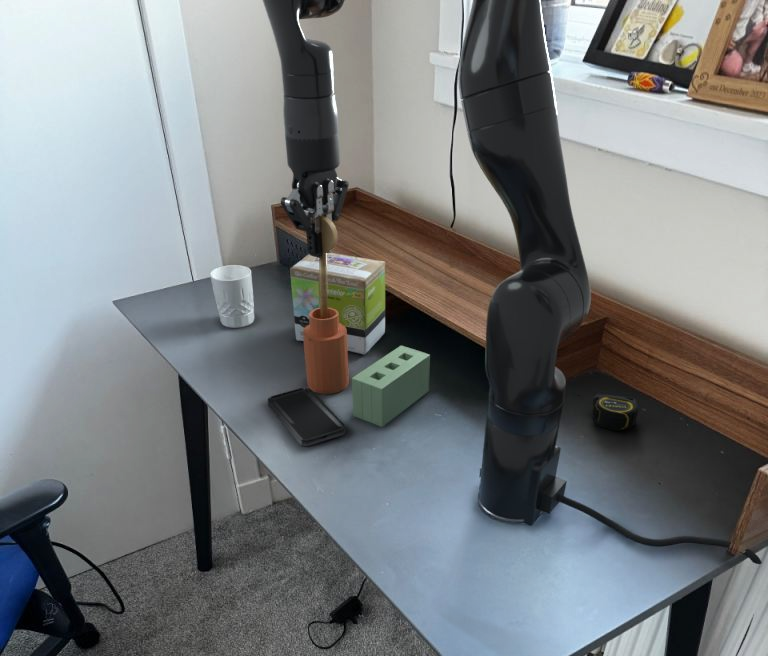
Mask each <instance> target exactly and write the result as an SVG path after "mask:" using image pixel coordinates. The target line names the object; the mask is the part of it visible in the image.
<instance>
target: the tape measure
mask: <svg viewBox="0 0 768 656" xmlns="http://www.w3.org/2000/svg"><path fill="white" fill-rule="evenodd" d="M592 412H593V413H592V417H593V420H594V421H595V423H596V424H597V425H599V426H601V427H603V428H605V429H609V430H614V431H615V430H617V431H618V430H619V431H620V430H621V431H622V430H623V431H624V430H627V429H630V428H632V427H633V426H634V425H635V423H636V421H637V419H638V414H639V406H638V402H637V400H636V399H635V398H633V397H628V396H621V395H620V396H619V395H608V394H600V393H599V394H597V393H596V394H595V395H594V396H593V399H592Z"/></svg>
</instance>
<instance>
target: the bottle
mask: <svg viewBox="0 0 768 656" xmlns="http://www.w3.org/2000/svg"><path fill="white" fill-rule="evenodd" d="M309 323H310V325H308V326H306V327H305V328H304V329H303V339H304V341H303V351H304V360H305V362H304V363H305V371H306V372H305V373H306V374H305V375H306V383H307V388H310V389H311V390H312V391H313V392H314V393H317V394H322V395H332V394H337V393H341V392H342V391H344V390H346V389H347V388H348V386H349V383H350V381H349V379H350V378H349V355H348V354H349V353H348V352H349V351H347V330H346V328H345V326H344V325H342V324H340V323H339V314H338V311H337V310H335V309H333V308H328V319H321V315H320V308H317V309H314V310H312V311H310V313H309Z"/></svg>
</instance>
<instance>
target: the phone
mask: <svg viewBox="0 0 768 656" xmlns="http://www.w3.org/2000/svg"><path fill="white" fill-rule="evenodd" d="M267 406H268V408H269V409H270V410H271V412H272V413H273V414H274V415H275V416H276V418H277V419H278V420H279V421H280V423H282V425H283V426H284V427H285V428H286V429H287V431H288V432H289V433H290V434H291V435H292V436H293V437H294V439H295V440H296V442H297V443H298V444H299V445H300V446H301V447H302V446H303V447H310V446H313V445H317V444H320V443H324V442H326V441H329V440H332V439H335V438H340V437H342V436H344V435H345V434H346V425H345V423H344V422H343V421H342V420H341V419H340V418H339V417H338V416H337V415H336V414H335V413H334V412H333V411H332V410H331V408H329V407H328V405H326V404H325V402H323V400H321V399H320V397H319V396H318V395H316V392H314V391H312V390H311V389H310V388H309V387H305V386H304V387H299V388H296V389H292V390H289V391H285V392H281V393H278V394H275V395H271V396H269V397H268V398H267Z"/></svg>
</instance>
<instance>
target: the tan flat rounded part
mask: <svg viewBox="0 0 768 656" xmlns="http://www.w3.org/2000/svg"><path fill="white" fill-rule="evenodd" d="M310 219H311V223H313V218H310ZM320 221H321V231H320V232H321V234H322V250H323V255H322V256H321V257H319V273H320V315H321V319H328V295H327V252H329V251H330V252H331V251H333V250H334V249H335V248H336V247H337V244H338V241H339V234H338V231H337V228H336V227H337V226H336V225H335V223H334V221H333V222H332V221H331V220H330V219H329V218H327V217H325V216H321V217H320ZM330 252H329V253H330Z"/></svg>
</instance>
